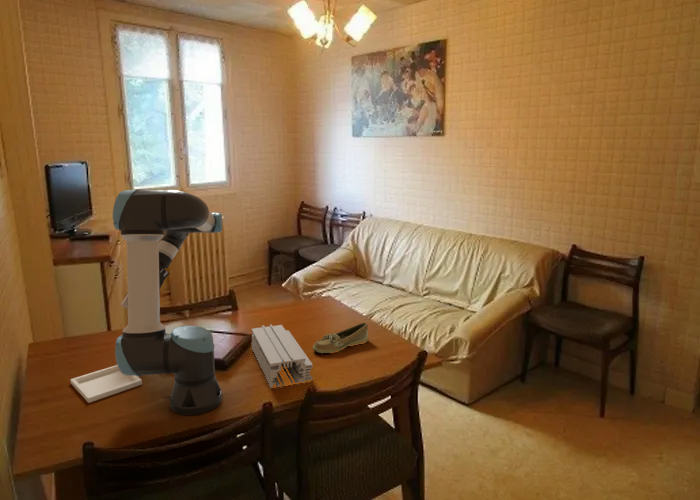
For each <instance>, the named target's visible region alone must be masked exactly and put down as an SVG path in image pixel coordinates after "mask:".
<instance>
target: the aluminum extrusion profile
mask: <svg viewBox="0 0 700 500" xmlns="http://www.w3.org/2000/svg"><path fill="white" fill-rule="evenodd" d="M251 332H252V334H251V350H253V351H252V352H254V353H253V355H254V354H255V355H254V357H255V356H256V357H255V359H256V358H257V359H256V361H257V360H258V361H257V363H258V362H259V363H258V365H259V364H260V365H259V367H260V366H261V367H260V369H261V368H262V370H263V372H264V374H265V376H264V378H265V377H266V378H265V380H266V379H267V380H266V382H267V381H268V382H267V384H268V383H269V384H268V386H269V389H271V388H273V385H274V384H276V387H279V386H281V385H280V383H279V381H278V379H277V375H278V377H279V379H280V381H281V383H282V385H283V386H284V382H283V380H282V378H281V376H280V374H279V373H278V372H280V371H281V365H282V367H283V369H284V371H285V372H286V374H287V376H288V378H289V379H290V381H291V383H293V381H292V380H291V378H290V376H289V375H288V373H287V371H286V369H285V366H286V367H287V369H288V371H289V373H290V374H291V376H292V378H293V379H294V381H295V383H299V382H305V381H308V380H314V379H313V377H312V375H311V374H310V372H311V371H312V369H313V367H314V366H313V363H312V361H311V360H310V358H309V357H308V356H307V354H306V353H305V351H304V350H303V349H302V347H301V346H300V344H299V343H298V342H297V340H296V339H295V337H294V336H293V334H292V333H291V332H290V330H287V329H285V327H284V326H283V324H278V325H272V324H269V326H265V325H264V324H263V325H262V326H261V327H254V328H251ZM262 370H261V371H262ZM263 372H262V373H263ZM264 374H263V375H264Z"/></svg>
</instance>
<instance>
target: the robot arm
mask: <svg viewBox="0 0 700 500" xmlns="http://www.w3.org/2000/svg"><path fill="white" fill-rule="evenodd" d="M112 221H113V222H112V223H113V227H114V228H115V229H116V230H118V231H120V237H122V238H123V240H125V242H126V264H127V265H126V267H127V268H126V270H127V271H126V272H127V273H126V274H127V275H126V276H127V282H126V283H127V284H126V286H128V289H127V293H126V294H125V297H124V299H123V300H122V302H121V303H120V305H121V306H122V307H124V308H125V309H127V319H128V320H127V322H128V323H127V324H126V326H125V327H124V328H123V329H122V334H121V335H119V336H118V337H117V338H116V341H115V348H114V354H115V361H116V365H118V368H119V370H120V371H121V372H122V373H123V374H124V375H128V376H133V375H136V376H138V377H142V376H153V375H169V374H170V375H171V374H173V375H174V382H173V387H172V390H171V393H170V397H169V404H170V405H169V407H170V409H171V411H173V412H174V413H175V414H179V415H182V416H197V415H202V414H205V413H209V412H211V411H213V410H215V409H216V408H217V407H218V406H220V405H221V403H222V401H223V392H222V389H221V387H220V384H219V382H218V379H217V377H216V368H215V344H214V337H213V334H212V332H211V331H210V330H208V329H206V328H205V327H202V326H198V325H183V326H178V327H175V328H174V329H172V331H171V333H168V334H166V333H167V330H166V326H165V325H163V323H162V322H161V317H160V316H161V311H160V310H161V308H160V306H161V305H160V303H161V302H160V301H161V300H160V289H161V287H162V286H163V284H164V282H165V280H166V278H167V277H168V276H169V274H170V272H168V271H167V270H166V269H168V268H169V267H170V265H171V263H172V262H173V260H174V258H175V257H176V255H177V253H178V252H179V251H180V248H181V247H182V245H183V244H184V242H185V240H186V239H187V238H188V236H190V235H189V234H193V233H196V234H199V233H200V234H201V233H203V234H206V233H209V234H211V233H212V234H216V233H221V232H222V231H223V216H222V213H220V212H215V211H214V212H211V211H210V210H209V207H208V204H207V203H206V202H205V201H204V200H203V199H202V198H200V197H198V196H196V195H194V194H191V193H190V192H186V191H182V190H177V189H142V188H141V189H140V188H138V189H136V188H135V189H126V190H121V191H120V192H119V193H118V194H117V196H116V197H115V200H114V204H113V209H112Z"/></svg>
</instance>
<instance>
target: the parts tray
mask: <svg viewBox="0 0 700 500" xmlns="http://www.w3.org/2000/svg"><path fill="white" fill-rule="evenodd" d="M70 385H72V387H74V389H75V390H76V391H77V392H78V393H79V394H80V395H81V396H82V397H83V399H84V400H85V401H86V402H87V403H88V404H89V403H90V404H91V403H93V402H95V401H100V400H101V399H104V398H107V397H109V396H113V395H115V394H119V393H121V392H124V391H127V390H130V389H134V388H135V387H138V386H141V385H143V379H142V378H140V376H136V375H133V376H128V375H124V374H123V373H122V372H121V371H120V370H119V368H118V365H117V364H115V365H113V366H109V367H106V368H104V369H99V370H95V371H93V372H90V373H86V374H83V375H80V376H77V377H73V378H70Z"/></svg>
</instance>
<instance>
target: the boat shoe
mask: <svg viewBox="0 0 700 500" xmlns="http://www.w3.org/2000/svg"><path fill="white" fill-rule="evenodd" d="M368 329H369V326H368V323H367V322H361V323H358V324H356V325H354V326H351V327H348V328H345V329H343V330H340V331H338V332H335V333H333V332H331V333H329V334H325V335H323V337H322V338H320V339H319V340H318V339H317V340H316V341H315V343H314V344H313V345H312V350H313V351H314V352H317V353H319V354H323V353H331V352H335V351H339V350H341V349H343V348H345V347H347V346H349V345H354V344H359V343H363V342H366V341H368V342H369V330H368ZM347 348H348V347H347ZM345 349H346V348H345ZM331 354H332V353H331Z"/></svg>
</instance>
